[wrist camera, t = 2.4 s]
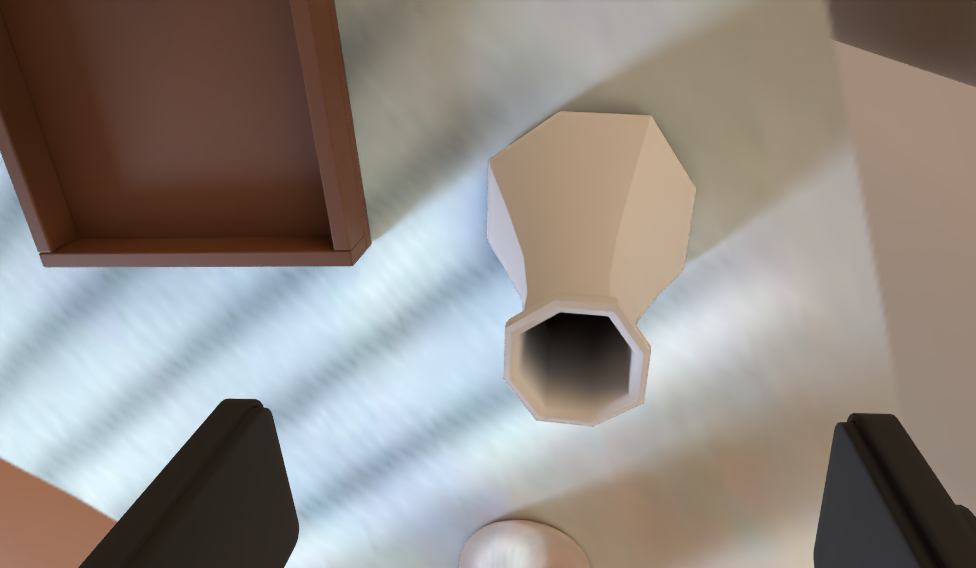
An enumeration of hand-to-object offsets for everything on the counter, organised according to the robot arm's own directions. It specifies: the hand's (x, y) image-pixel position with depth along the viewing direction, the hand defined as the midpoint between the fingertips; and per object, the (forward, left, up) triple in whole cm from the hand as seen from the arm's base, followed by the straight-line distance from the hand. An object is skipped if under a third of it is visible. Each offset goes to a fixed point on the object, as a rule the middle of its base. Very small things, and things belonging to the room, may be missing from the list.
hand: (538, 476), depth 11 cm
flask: (0, 0, -14) cm, 14 cm away
